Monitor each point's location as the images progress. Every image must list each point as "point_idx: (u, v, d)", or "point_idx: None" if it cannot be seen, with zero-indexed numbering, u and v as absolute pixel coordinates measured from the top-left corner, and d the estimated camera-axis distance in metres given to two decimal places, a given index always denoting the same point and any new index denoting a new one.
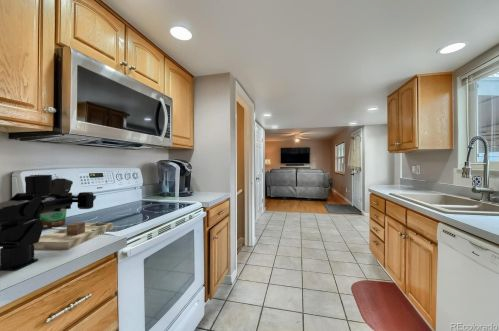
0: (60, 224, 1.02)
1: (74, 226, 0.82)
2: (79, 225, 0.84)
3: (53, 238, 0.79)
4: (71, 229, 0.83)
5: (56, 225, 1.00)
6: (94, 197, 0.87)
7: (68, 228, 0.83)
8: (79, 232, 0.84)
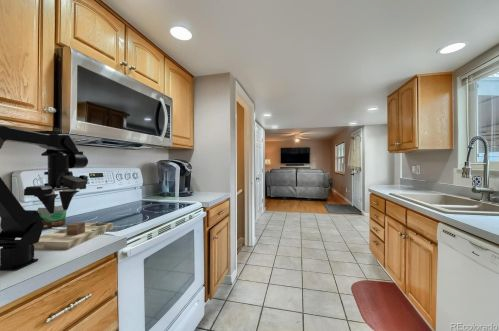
0: (60, 224, 1.02)
1: (74, 226, 0.82)
2: (79, 225, 0.84)
3: (53, 238, 0.79)
4: (71, 229, 0.83)
5: (56, 225, 1.00)
6: (50, 210, 0.74)
7: (68, 228, 0.83)
8: (79, 232, 0.84)
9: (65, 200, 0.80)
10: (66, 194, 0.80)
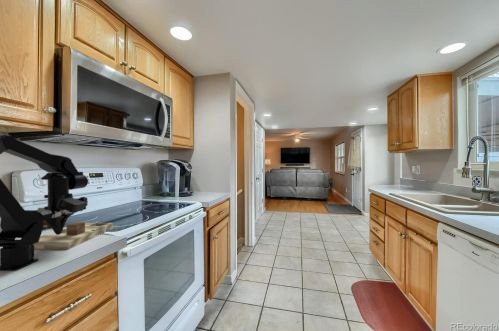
0: None
1: (74, 226, 0.82)
2: (79, 225, 0.84)
3: (53, 238, 0.79)
4: (71, 229, 0.83)
5: None
6: (56, 231, 0.76)
7: (68, 228, 0.83)
8: (79, 232, 0.84)
9: None
10: None
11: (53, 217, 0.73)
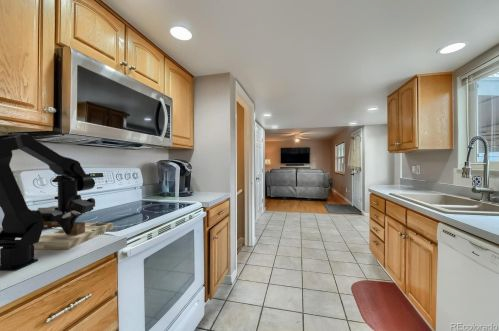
0: None
1: (74, 226, 0.83)
2: (79, 225, 0.84)
3: (53, 238, 0.79)
4: None
5: (56, 225, 1.00)
6: (66, 230, 0.80)
7: None
8: (79, 232, 0.84)
9: None
10: None
11: (63, 217, 0.77)
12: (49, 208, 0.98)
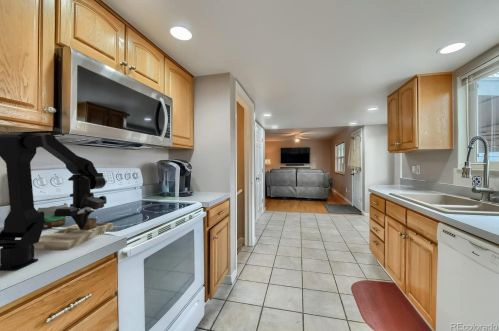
0: (60, 224, 1.02)
1: (87, 221, 0.89)
2: (91, 221, 0.90)
3: (53, 238, 0.79)
4: None
5: (56, 225, 1.00)
6: (80, 226, 0.87)
7: None
8: (91, 227, 0.90)
9: None
10: None
11: (78, 213, 0.84)
12: (49, 208, 0.98)
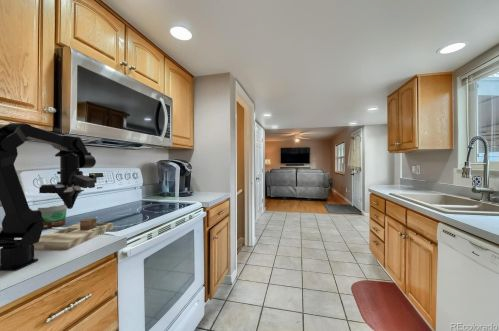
0: (60, 224, 1.02)
1: (87, 221, 0.89)
2: (91, 221, 0.90)
3: (53, 238, 0.79)
4: (84, 224, 0.89)
5: (56, 225, 1.00)
6: (68, 205, 0.82)
7: (81, 223, 0.89)
8: (91, 227, 0.90)
9: None
10: None
11: (65, 191, 0.79)
12: (49, 208, 0.98)
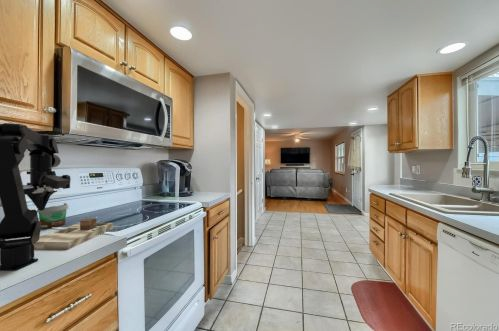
0: (60, 224, 1.02)
1: (87, 221, 0.89)
2: (91, 221, 0.90)
3: (53, 238, 0.79)
4: (84, 224, 0.89)
5: (56, 225, 1.00)
6: (39, 207, 0.78)
7: (81, 223, 0.89)
8: (91, 227, 0.90)
9: None
10: None
11: (35, 192, 0.75)
12: (49, 208, 0.98)
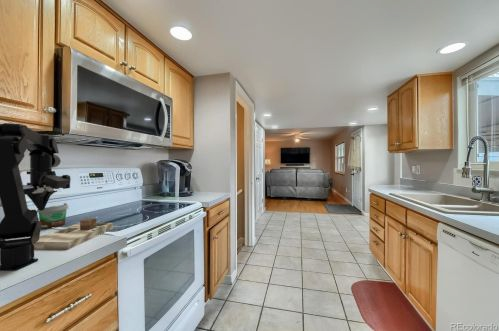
0: (60, 224, 1.02)
1: (87, 221, 0.89)
2: (91, 221, 0.90)
3: (53, 238, 0.79)
4: (84, 224, 0.89)
5: (56, 225, 1.00)
6: (39, 207, 0.78)
7: (81, 223, 0.89)
8: (91, 227, 0.90)
9: None
10: None
11: (35, 192, 0.75)
12: (49, 208, 0.98)
